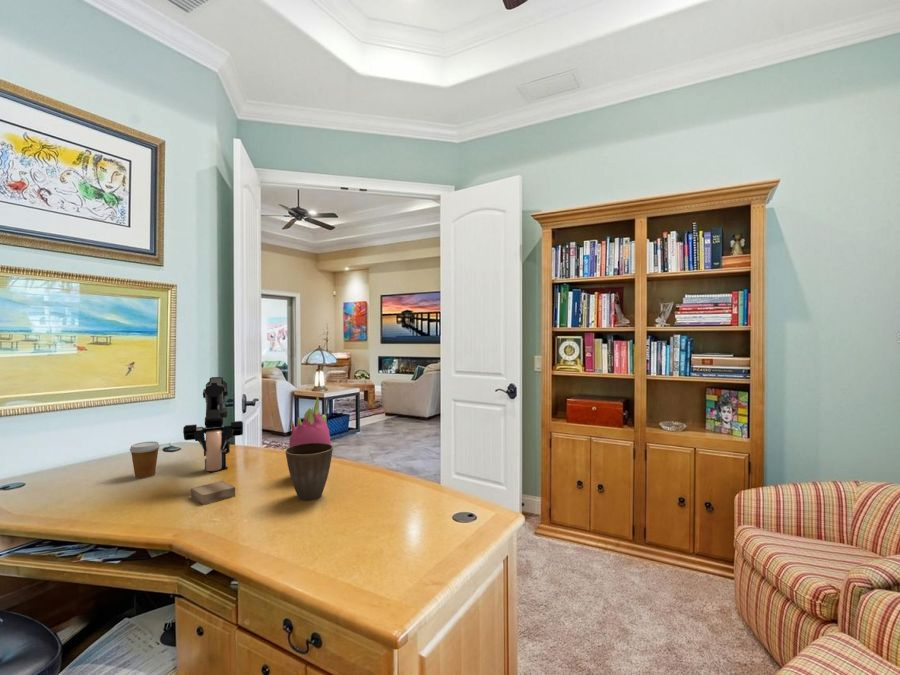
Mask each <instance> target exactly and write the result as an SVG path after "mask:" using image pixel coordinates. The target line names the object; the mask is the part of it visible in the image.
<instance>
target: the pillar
mask: <svg viewBox="0 0 900 675" xmlns="http://www.w3.org/2000/svg"><path fill="white" fill-rule="evenodd" d="M205 440H206V456H205V459H206V470H205V471H206V472H209V471H215V470H219V469H221V468H222V451H221V430H212V431H207V432H206V434H205ZM219 471H220V470H219ZM215 472H216V471H215Z"/></svg>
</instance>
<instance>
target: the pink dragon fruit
mask: <svg viewBox="0 0 900 675" xmlns="http://www.w3.org/2000/svg"><path fill="white" fill-rule="evenodd" d="M290 424H291V425H290V428H291V435H289V446H288V448H289V447H292V446H295V445H299V444H306V443H326V444H330V445H332V442H331V435H330V429H329V427H328V422H327V416H326V415H325V414H321V411H320V399H319V396H316V400H315V403H314V406H313V407H311V408H308V409H307V410H306V411H305V412H304V415H303V420H302V419H301V417H297V425H296V426H295V423H294V420H292V421H291V423H290Z"/></svg>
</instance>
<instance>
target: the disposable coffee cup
mask: <svg viewBox="0 0 900 675" xmlns="http://www.w3.org/2000/svg"><path fill="white" fill-rule="evenodd" d="M160 446H161V445H160V442H159V441H144V442H143V441H142V442H137V443H134V444H131V446H130V448H129V451H130V453H131V454H130V455H131V459H132V466H133V472H134V478H135V479H147V478H151V477H153V476H155V475H156V471H157V470H156V468H157V462H158V457H159V456H158V454H159V449H160Z"/></svg>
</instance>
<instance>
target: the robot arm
mask: <svg viewBox="0 0 900 675" xmlns="http://www.w3.org/2000/svg"><path fill="white" fill-rule="evenodd" d="M228 387H229V386H228V382H226V381H225V380H224V377H221V376H216V377H215V376H212V377H209V381H207V383H206V384H205V388H203V391H202V398H203V399H205V417H204V426H198V425H197V424H185V426H183V430H182V434H183V439H184V440H185V441H193V440H194V441H195V442H198V443H199V444H200V446H201V448H202V450H203V457H206V436H205V435H206V432H207V431H212V430H221V451H222V468H221V469H219V470H215V471H208V472H209V473H213V472H218V471H219V472H220V471H223V470H228V468H229V467H227V458H226V456H227V454H229V453H230V452H231V451H230V448H231V447H230V445H231V441H229V440H230V439H233V437H234V436H235V437H237V436H243V435H244V434H243V433H244V422H243V421H241V420H237V421H234V420H233V421H231V422H230V425H224V418H225V419H226V418H228V407H224V403H225V402H226V401H227V400H226V399H227V396H229V390H228ZM204 470H205V471H207V470H206V458H205V459H204Z"/></svg>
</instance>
